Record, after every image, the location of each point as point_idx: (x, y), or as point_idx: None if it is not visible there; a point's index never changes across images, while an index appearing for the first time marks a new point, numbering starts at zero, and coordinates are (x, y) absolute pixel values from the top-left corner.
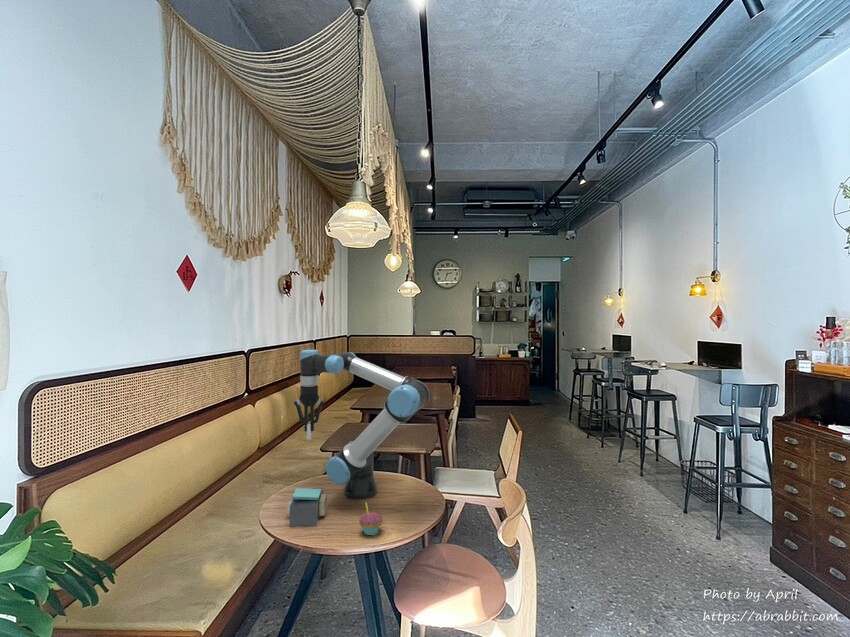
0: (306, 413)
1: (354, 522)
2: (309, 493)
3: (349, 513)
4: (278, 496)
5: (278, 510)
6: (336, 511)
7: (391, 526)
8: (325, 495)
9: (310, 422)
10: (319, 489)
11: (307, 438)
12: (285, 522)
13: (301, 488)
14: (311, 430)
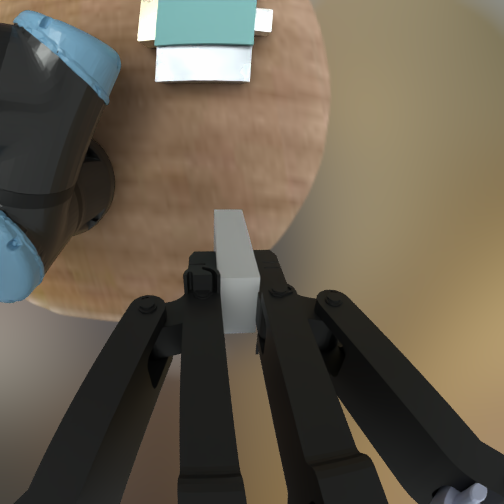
0: (300, 392)
1: (74, 2)
2: (196, 4)
3: None
4: (313, 175)
5: (300, 78)
6: (121, 56)
7: (2, 4)
8: (140, 30)
9: (220, 298)
10: (161, 41)
11: (239, 213)
12: (266, 4)
13: (233, 42)
14: (208, 255)
